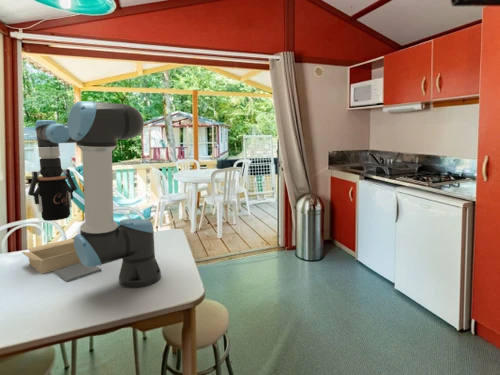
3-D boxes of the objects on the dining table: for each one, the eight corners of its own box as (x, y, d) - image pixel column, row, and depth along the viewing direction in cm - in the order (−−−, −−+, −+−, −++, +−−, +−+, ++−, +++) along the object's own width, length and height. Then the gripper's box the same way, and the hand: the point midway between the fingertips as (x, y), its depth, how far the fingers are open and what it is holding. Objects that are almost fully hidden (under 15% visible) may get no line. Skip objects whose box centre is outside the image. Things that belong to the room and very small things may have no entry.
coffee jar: (57, 221, 132) (52, 178, 129) (35, 220, 134) (30, 178, 131) (76, 215, 142) (72, 175, 139) (55, 215, 144) (51, 175, 142)
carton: (99, 259, 144) (98, 245, 143) (36, 277, 125) (35, 261, 124) (80, 249, 157) (79, 236, 156) (21, 264, 138) (19, 250, 138)
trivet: (101, 271, 130) (101, 268, 130) (66, 282, 120) (66, 279, 120) (87, 263, 139) (87, 261, 138) (54, 273, 129) (54, 270, 129)
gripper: (75, 156, 145) (80, 203, 148) (14, 159, 128) (21, 212, 131) (82, 156, 140) (87, 205, 144) (19, 159, 123) (26, 215, 126)
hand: (55, 209), depth 137 cm, fingers closed on coffee jar, 11 cm apart
